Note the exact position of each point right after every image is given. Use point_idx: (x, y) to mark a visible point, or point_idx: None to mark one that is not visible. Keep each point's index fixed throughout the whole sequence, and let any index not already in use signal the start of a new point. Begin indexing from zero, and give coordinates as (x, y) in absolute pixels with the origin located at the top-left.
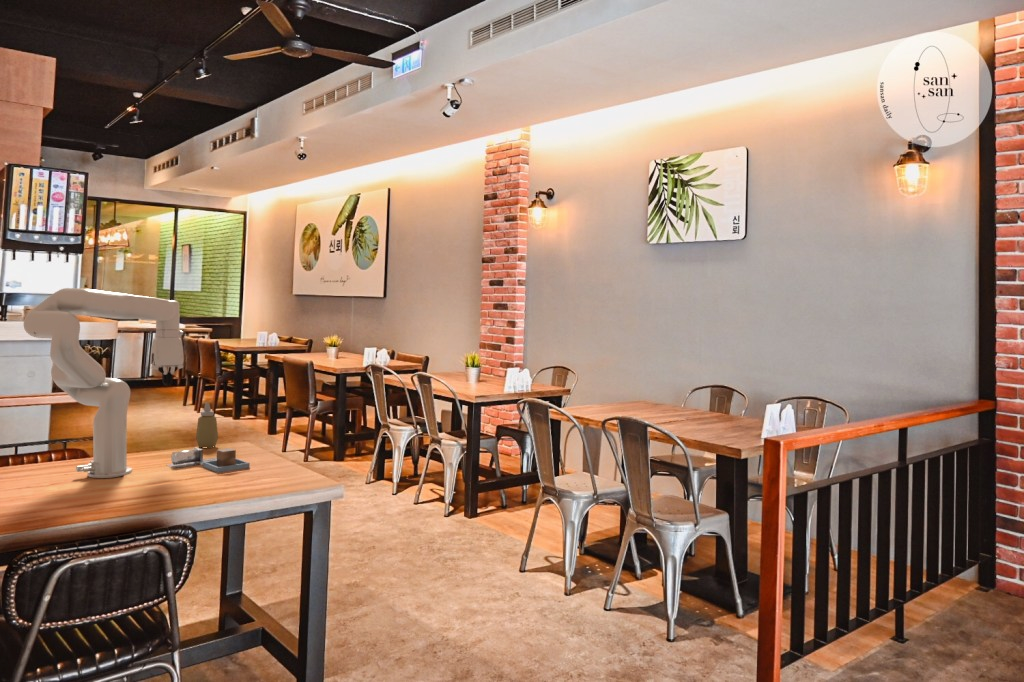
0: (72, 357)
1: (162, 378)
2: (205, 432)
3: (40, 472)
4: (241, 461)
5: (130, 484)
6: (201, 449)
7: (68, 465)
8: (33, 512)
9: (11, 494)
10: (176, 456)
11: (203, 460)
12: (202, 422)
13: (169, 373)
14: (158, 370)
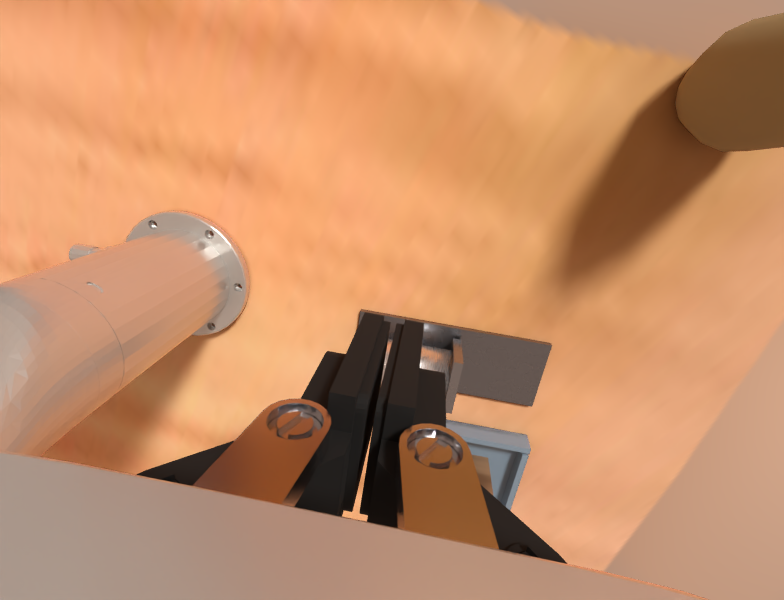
0: None
1: (311, 384)
2: (726, 131)
3: (13, 60)
4: (508, 495)
5: (196, 417)
6: (450, 407)
7: (110, 5)
8: None
9: None
10: None
11: (485, 345)
12: (767, 105)
13: (374, 515)
14: (170, 472)
